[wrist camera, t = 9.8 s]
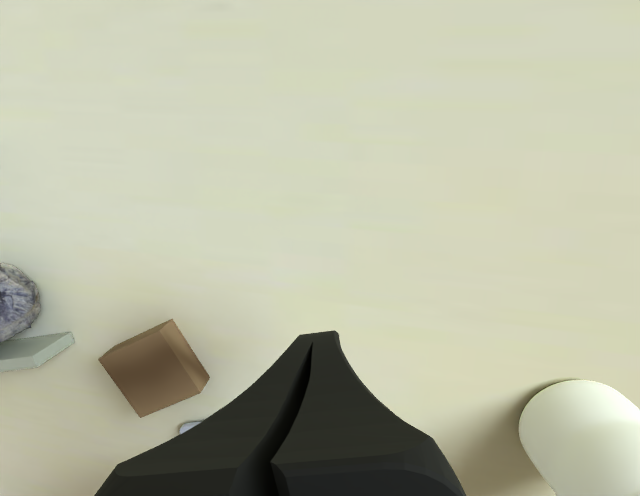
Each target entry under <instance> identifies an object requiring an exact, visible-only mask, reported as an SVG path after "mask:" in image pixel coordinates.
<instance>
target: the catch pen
mask: <svg viewBox="0 0 640 496" xmlns="http://www.w3.org/2000/svg"><path fill="white" fill-rule="evenodd" d="M73 343H74V339H73V337H72V334H71V332H68V333H60V334H53V335H46V336H39V337H32V338H24V339H17V340H10V341H3V342H0V372H6V371H14V370H21V369H29V368H37V367H39V366H40V365H42V364H43V363H45V362H46V361H48V360H49V359H51V358H52V357H53V356H55V355H56V354H58V353H59V352H61V351H62V350H64V349H65V348H67V347H68V346H70V345H71V344H73Z"/></svg>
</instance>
